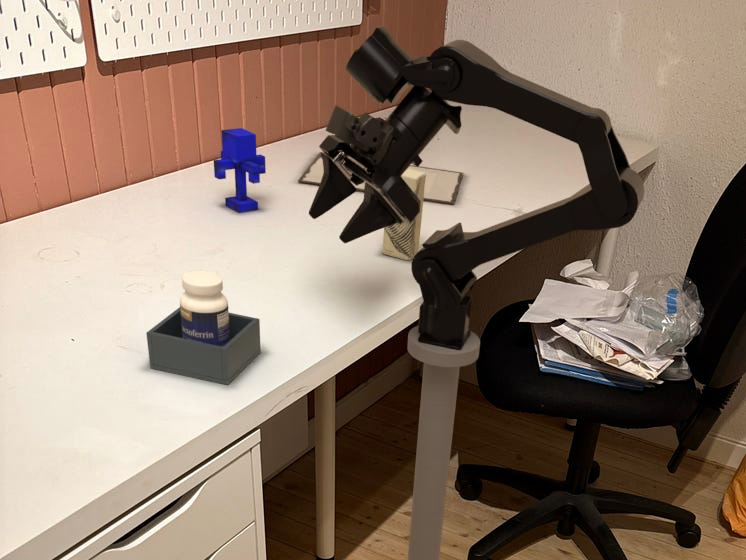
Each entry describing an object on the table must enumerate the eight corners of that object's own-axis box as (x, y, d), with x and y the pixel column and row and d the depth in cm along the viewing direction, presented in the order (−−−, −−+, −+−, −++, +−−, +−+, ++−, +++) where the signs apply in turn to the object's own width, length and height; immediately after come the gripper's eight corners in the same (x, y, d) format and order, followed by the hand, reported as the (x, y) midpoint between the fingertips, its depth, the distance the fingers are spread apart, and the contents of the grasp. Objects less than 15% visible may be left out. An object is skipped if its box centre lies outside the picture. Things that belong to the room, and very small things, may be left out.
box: (381, 254, 157) (385, 170, 148) (391, 247, 160) (395, 164, 152) (411, 261, 156) (417, 178, 147) (421, 254, 159) (426, 171, 151)
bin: (260, 352, 125) (259, 318, 122) (227, 385, 117) (225, 349, 114) (187, 337, 125) (184, 302, 123) (150, 368, 118) (145, 332, 115)
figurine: (267, 204, 169) (265, 129, 161) (259, 217, 164) (257, 141, 156) (224, 198, 169) (220, 123, 161) (215, 212, 163) (210, 135, 155)
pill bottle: (175, 359, 119) (168, 280, 113) (197, 342, 123) (190, 264, 117) (218, 369, 118) (213, 290, 112) (238, 351, 123) (234, 274, 116)
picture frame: (463, 173, 197) (319, 152, 197) (464, 172, 197) (319, 151, 196) (454, 204, 181) (297, 182, 180) (454, 203, 180) (297, 180, 180)
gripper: (334, 64, 121) (254, 161, 123) (405, 102, 110) (316, 208, 112) (386, 130, 130) (311, 220, 132) (456, 172, 118) (373, 270, 120)
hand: (326, 228), depth 123 cm, fingers open, 9 cm apart
